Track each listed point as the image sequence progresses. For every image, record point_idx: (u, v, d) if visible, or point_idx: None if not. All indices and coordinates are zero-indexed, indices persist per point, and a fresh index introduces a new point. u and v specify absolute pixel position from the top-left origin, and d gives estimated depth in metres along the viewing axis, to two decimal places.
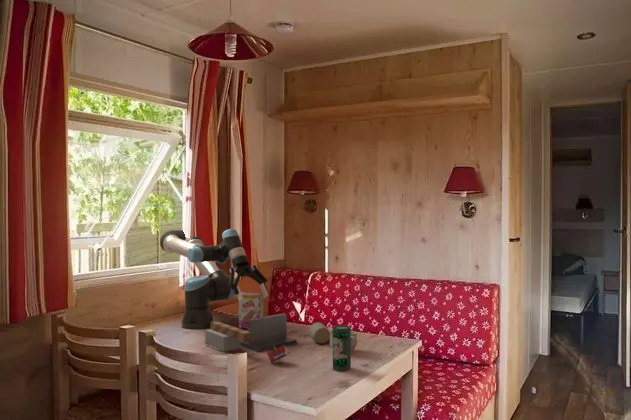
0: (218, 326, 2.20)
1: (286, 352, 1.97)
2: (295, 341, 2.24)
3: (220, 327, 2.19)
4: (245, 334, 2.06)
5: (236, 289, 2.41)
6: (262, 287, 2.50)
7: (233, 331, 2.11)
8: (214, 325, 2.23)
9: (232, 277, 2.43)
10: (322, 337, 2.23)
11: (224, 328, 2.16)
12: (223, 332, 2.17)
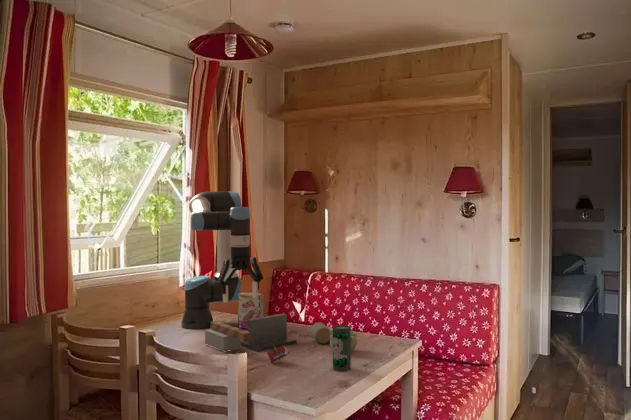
0: (218, 326, 2.20)
1: (286, 352, 1.97)
2: (295, 341, 2.24)
3: (220, 327, 2.19)
4: (245, 334, 2.06)
5: (224, 289, 2.04)
6: (254, 286, 2.14)
7: (233, 331, 2.11)
8: (214, 325, 2.23)
9: (224, 273, 2.04)
10: (323, 336, 2.23)
11: (224, 328, 2.16)
12: (223, 332, 2.17)
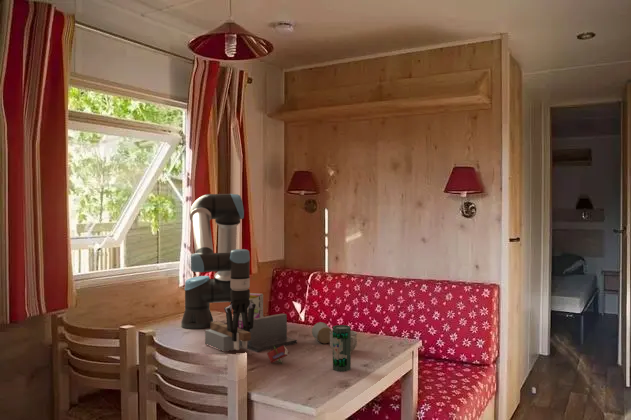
0: (218, 326, 2.20)
1: (286, 352, 1.97)
2: (295, 341, 2.24)
3: (220, 327, 2.19)
4: (245, 334, 2.06)
5: (235, 336, 2.08)
6: None
7: None
8: (214, 325, 2.23)
9: (231, 321, 2.06)
10: (325, 336, 2.23)
11: (224, 328, 2.16)
12: (223, 332, 2.17)
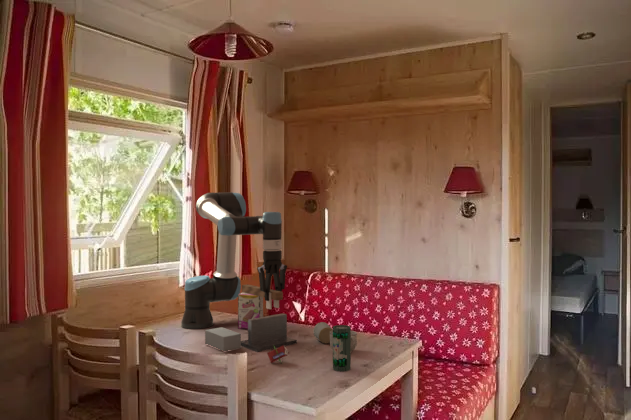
0: (250, 288, 2.26)
1: (286, 352, 1.97)
2: (295, 341, 2.24)
3: (252, 289, 2.25)
4: (277, 293, 2.11)
5: (267, 296, 2.13)
6: None
7: None
8: (246, 287, 2.28)
9: (263, 281, 2.12)
10: (326, 336, 2.24)
11: (256, 289, 2.22)
12: (255, 293, 2.23)
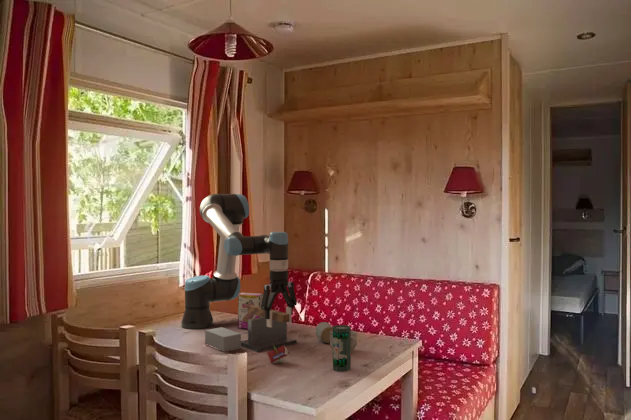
0: (256, 309, 2.27)
1: (286, 352, 1.97)
2: (295, 341, 2.24)
3: (258, 310, 2.26)
4: (284, 315, 2.13)
5: (268, 314, 2.13)
6: (288, 312, 2.20)
7: (272, 313, 2.18)
8: (252, 308, 2.30)
9: (267, 299, 2.12)
10: (328, 336, 2.24)
11: (262, 311, 2.24)
12: (261, 315, 2.24)
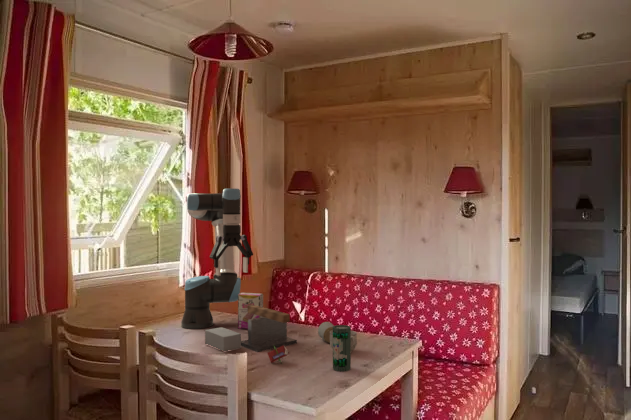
0: (256, 309, 2.27)
1: (286, 352, 1.97)
2: (295, 341, 2.24)
3: (258, 310, 2.26)
4: (284, 316, 2.13)
5: (216, 263, 2.24)
6: (245, 261, 2.33)
7: (272, 313, 2.18)
8: (252, 308, 2.30)
9: (217, 249, 2.23)
10: None
11: (262, 311, 2.24)
12: (261, 315, 2.24)
